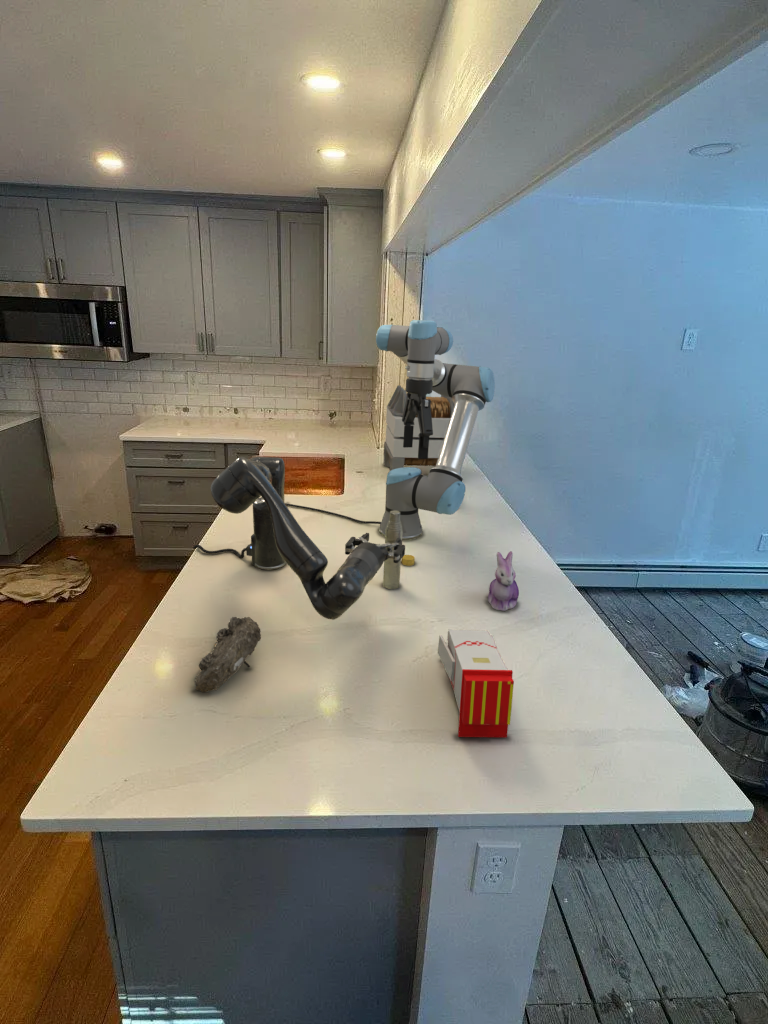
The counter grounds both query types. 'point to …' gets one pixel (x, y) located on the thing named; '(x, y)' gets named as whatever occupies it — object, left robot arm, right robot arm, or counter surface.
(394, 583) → the bottle
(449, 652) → the toy
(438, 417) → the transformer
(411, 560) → the cap
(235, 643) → the fossil
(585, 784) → the counter surface
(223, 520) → the counter surface
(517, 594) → the figurine
